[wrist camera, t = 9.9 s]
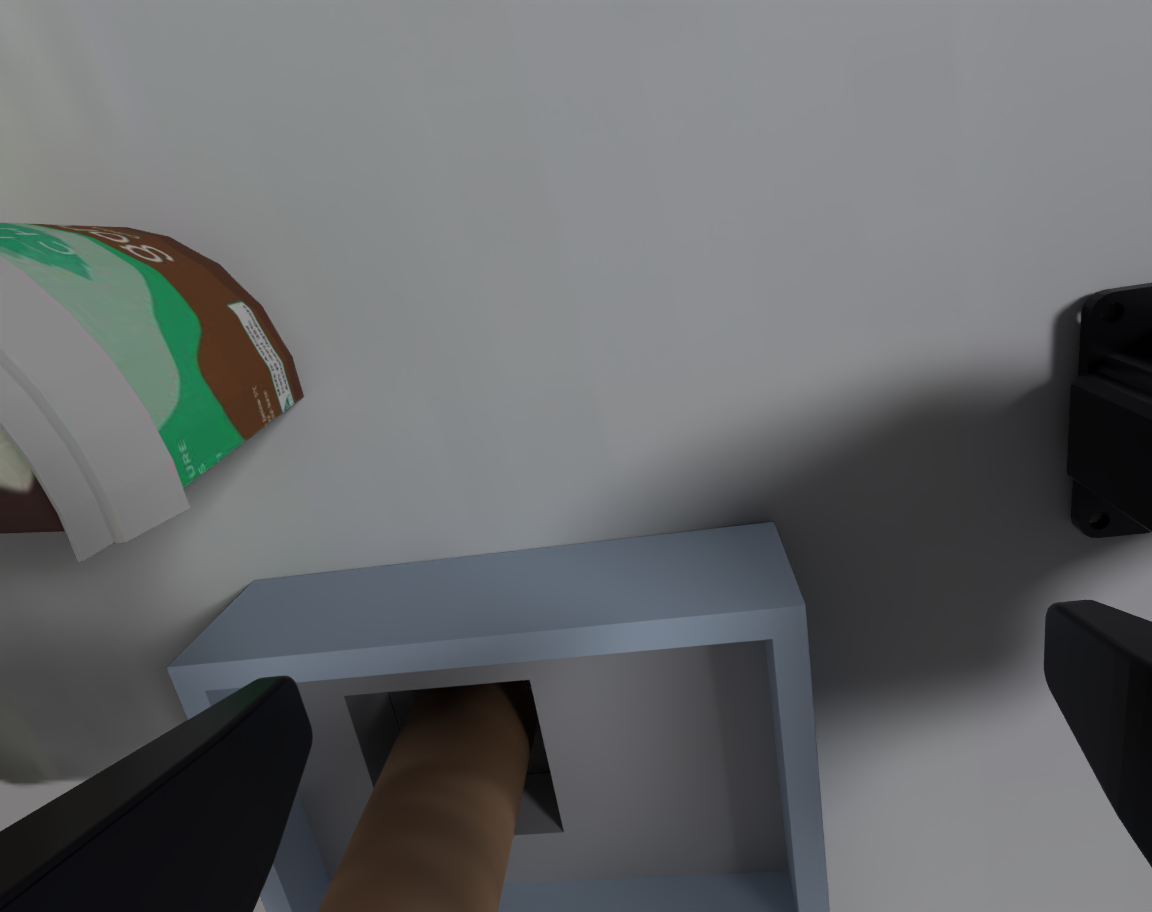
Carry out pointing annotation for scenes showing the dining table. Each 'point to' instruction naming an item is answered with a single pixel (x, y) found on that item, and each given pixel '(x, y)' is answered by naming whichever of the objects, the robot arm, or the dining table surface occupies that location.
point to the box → (563, 712)
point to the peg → (442, 806)
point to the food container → (123, 378)
